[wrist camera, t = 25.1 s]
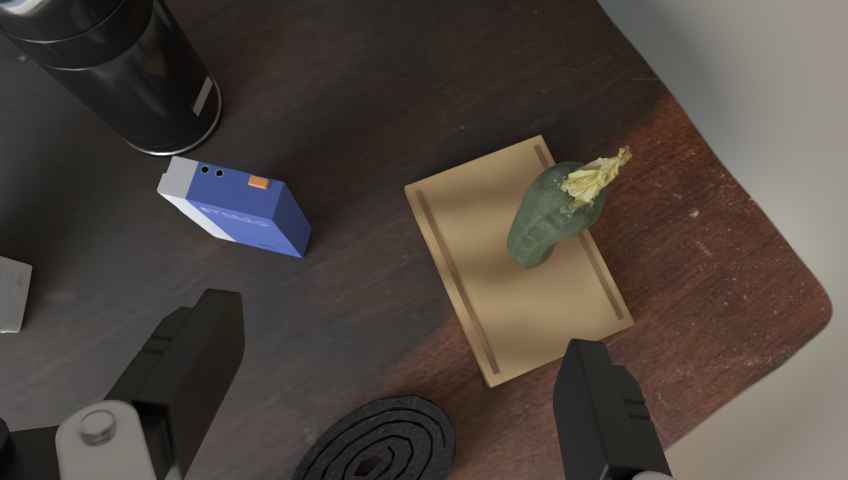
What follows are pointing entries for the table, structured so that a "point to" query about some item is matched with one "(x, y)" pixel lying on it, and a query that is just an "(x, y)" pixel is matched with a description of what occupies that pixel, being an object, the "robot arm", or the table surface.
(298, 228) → the walkman
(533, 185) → the vegetable
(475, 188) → the cutting board
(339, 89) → the table surface
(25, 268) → the syrup box
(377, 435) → the hairbrush
